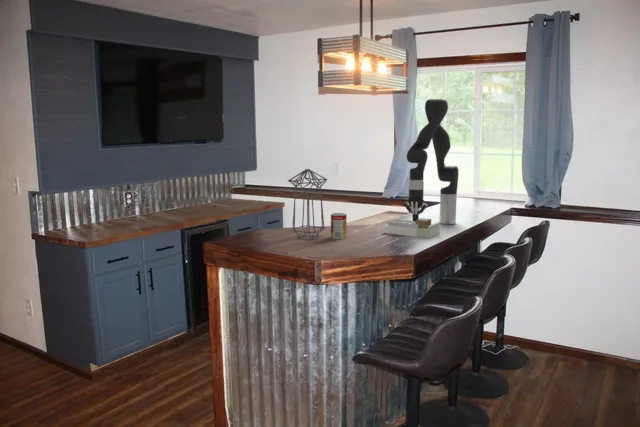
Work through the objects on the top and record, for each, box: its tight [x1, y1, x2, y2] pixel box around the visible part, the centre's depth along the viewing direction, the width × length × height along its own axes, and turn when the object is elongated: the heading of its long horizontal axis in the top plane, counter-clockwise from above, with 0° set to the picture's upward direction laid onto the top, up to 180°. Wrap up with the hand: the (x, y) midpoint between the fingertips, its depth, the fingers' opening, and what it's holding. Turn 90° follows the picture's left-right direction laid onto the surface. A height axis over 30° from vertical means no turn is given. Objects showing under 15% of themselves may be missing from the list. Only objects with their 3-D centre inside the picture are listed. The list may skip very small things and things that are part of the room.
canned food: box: [330, 212, 348, 240], centre depth 278 cm, size 8×8×12 cm
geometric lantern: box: [287, 168, 328, 241], centre depth 274 cm, size 16×16×35 cm
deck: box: [384, 221, 441, 239], centre depth 289 cm, size 14×25×6 cm, turn 57°
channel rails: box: [387, 218, 419, 228], centre depth 290 cm, size 10×17×2 cm, turn 57°
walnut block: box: [416, 217, 432, 228], centre depth 285 cm, size 6×6×4 cm
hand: (415, 221), depth 287 cm, fingers closed
